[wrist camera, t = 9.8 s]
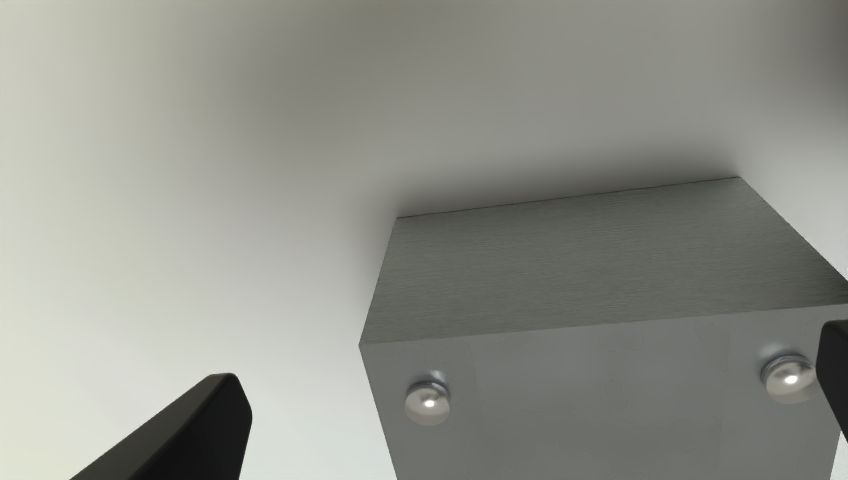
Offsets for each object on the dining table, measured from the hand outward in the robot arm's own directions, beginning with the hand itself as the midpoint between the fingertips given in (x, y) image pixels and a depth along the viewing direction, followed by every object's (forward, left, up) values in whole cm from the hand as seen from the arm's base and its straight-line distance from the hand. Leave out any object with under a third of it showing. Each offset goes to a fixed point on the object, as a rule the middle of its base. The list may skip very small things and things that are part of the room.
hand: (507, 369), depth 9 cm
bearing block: (-2, +8, -12) cm, 14 cm away
